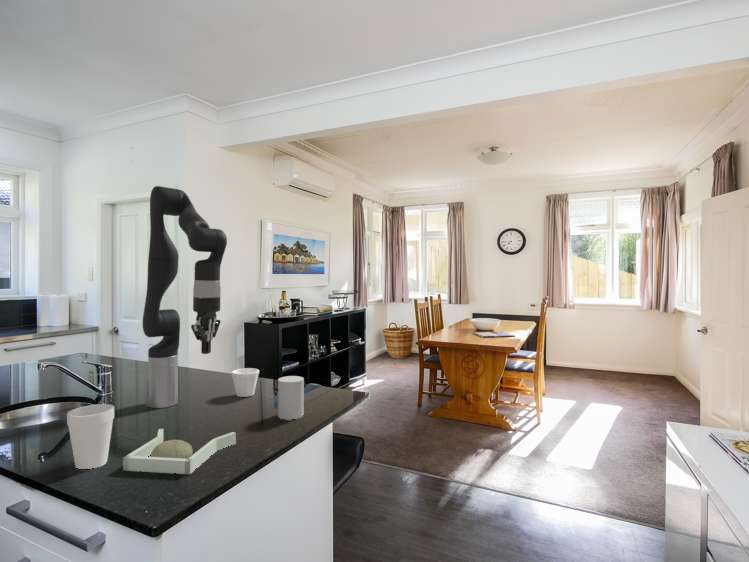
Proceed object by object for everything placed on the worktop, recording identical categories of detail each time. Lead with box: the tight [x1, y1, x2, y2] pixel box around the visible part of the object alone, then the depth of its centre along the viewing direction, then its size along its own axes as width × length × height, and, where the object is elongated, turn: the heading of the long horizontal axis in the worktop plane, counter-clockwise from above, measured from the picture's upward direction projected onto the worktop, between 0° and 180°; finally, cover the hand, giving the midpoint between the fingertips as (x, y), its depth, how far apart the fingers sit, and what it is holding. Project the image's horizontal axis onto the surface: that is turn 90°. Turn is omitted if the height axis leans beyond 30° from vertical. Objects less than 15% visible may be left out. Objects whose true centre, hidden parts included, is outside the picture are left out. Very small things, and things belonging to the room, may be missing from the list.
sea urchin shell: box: [149, 439, 194, 459], centre depth 101 cm, size 9×8×8 cm
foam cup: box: [66, 403, 115, 470], centre depth 100 cm, size 10×9×13 cm
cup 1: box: [231, 367, 260, 398], centre depth 157 cm, size 10×10×9 cm
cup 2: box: [277, 375, 305, 421], centre depth 135 cm, size 8×8×12 cm
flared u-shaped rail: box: [122, 428, 237, 475], centre depth 105 cm, size 22×18×3 cm
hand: (206, 353), depth 124 cm, fingers closed
